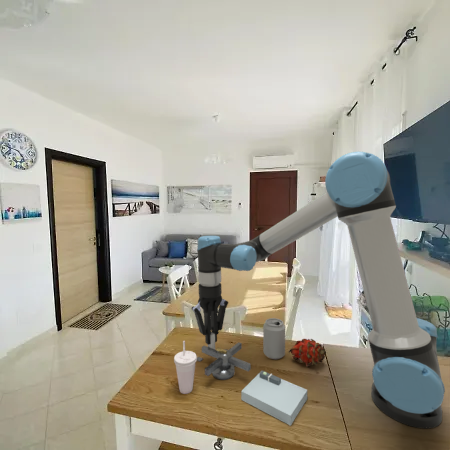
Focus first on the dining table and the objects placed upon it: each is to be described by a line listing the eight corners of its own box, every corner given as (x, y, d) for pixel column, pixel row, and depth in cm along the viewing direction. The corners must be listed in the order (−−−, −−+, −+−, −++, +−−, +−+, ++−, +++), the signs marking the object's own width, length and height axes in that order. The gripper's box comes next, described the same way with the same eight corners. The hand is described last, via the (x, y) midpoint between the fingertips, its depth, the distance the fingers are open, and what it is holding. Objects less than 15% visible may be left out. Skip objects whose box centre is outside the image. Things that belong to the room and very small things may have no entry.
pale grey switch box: (307, 398, 71) (307, 384, 71) (290, 425, 63) (290, 409, 62) (261, 378, 80) (261, 365, 80) (241, 399, 71) (241, 385, 71)
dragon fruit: (329, 371, 86) (291, 372, 88) (323, 345, 92) (288, 346, 95) (329, 359, 81) (289, 360, 83) (323, 332, 87) (286, 334, 90)
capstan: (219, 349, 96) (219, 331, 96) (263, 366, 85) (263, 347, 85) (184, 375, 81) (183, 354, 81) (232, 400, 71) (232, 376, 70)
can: (285, 361, 88) (285, 327, 88) (262, 359, 90) (262, 325, 89) (284, 349, 96) (285, 317, 95) (263, 347, 97) (264, 316, 96)
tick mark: (203, 359, 90) (203, 358, 90) (199, 361, 89) (199, 360, 89) (198, 357, 91) (198, 356, 91) (195, 359, 90) (195, 358, 90)
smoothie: (188, 378, 80) (187, 334, 79) (201, 389, 76) (201, 341, 75) (170, 389, 76) (169, 341, 75) (183, 400, 71) (182, 350, 70)
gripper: (220, 277, 93) (222, 341, 95) (187, 283, 86) (189, 353, 88) (232, 282, 87) (233, 351, 89) (197, 289, 80) (199, 364, 82)
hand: (211, 352), depth 89 cm, fingers closed
